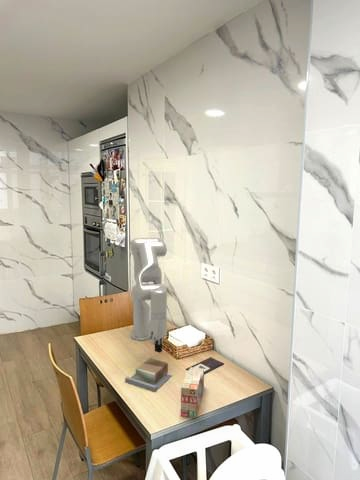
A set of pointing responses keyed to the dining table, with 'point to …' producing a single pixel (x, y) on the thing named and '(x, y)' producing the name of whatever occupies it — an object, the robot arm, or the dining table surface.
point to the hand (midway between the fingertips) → (158, 351)
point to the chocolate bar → (207, 365)
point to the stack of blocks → (192, 392)
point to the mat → (145, 385)
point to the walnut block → (151, 371)
